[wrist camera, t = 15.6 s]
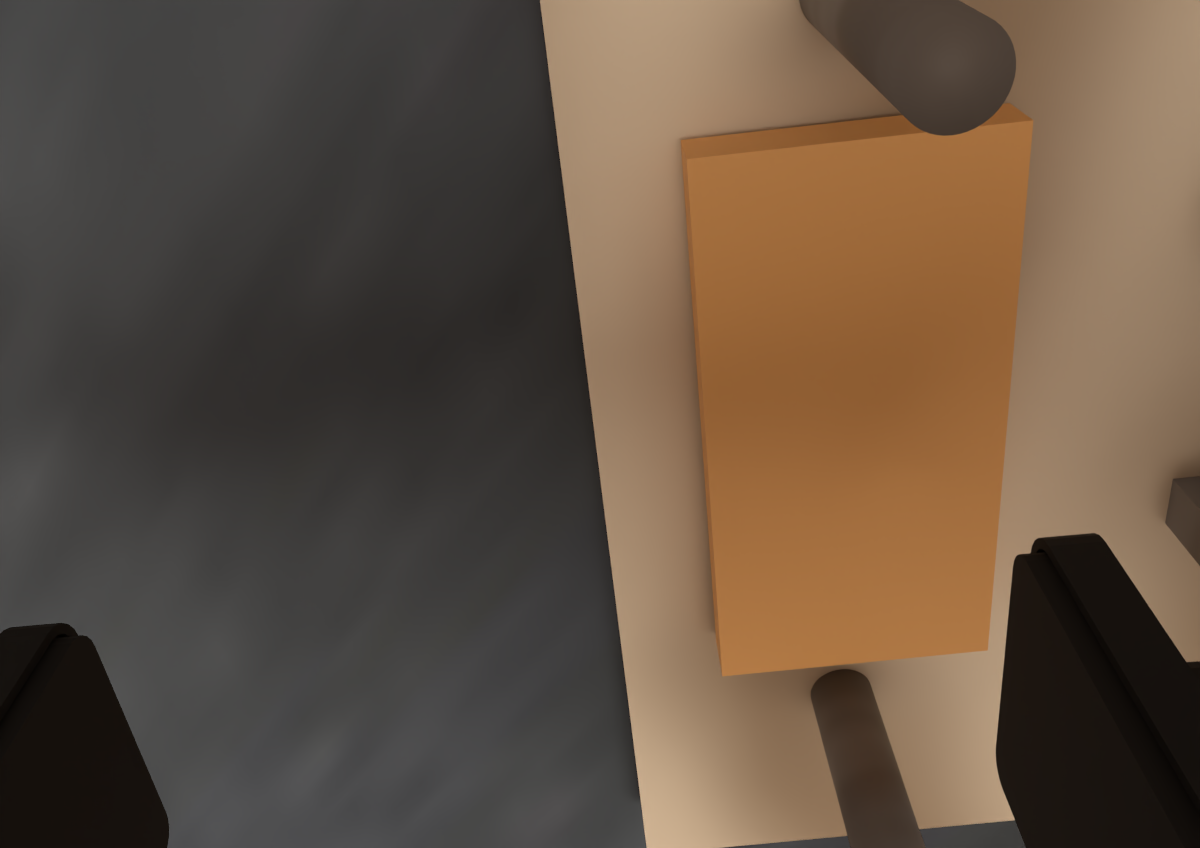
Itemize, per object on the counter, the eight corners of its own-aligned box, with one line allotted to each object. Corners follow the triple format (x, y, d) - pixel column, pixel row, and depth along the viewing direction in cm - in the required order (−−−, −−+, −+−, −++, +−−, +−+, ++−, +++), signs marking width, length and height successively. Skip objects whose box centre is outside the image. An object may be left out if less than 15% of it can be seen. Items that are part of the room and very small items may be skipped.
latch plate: (1009, 102, 14) (1033, 120, 13) (971, 615, 18) (987, 650, 17) (681, 139, 14) (686, 159, 13) (716, 641, 18) (722, 676, 17)
